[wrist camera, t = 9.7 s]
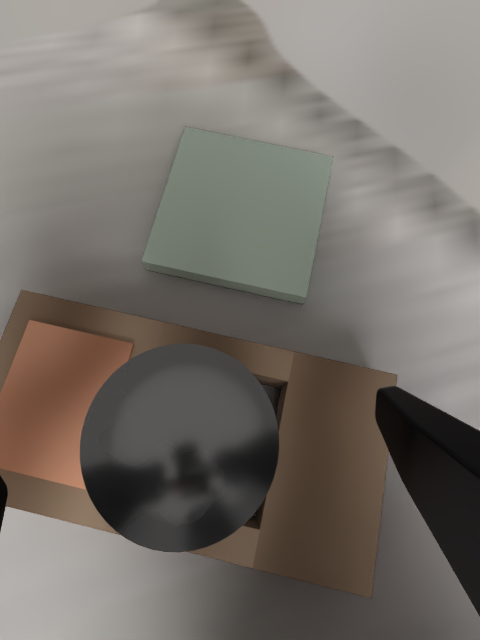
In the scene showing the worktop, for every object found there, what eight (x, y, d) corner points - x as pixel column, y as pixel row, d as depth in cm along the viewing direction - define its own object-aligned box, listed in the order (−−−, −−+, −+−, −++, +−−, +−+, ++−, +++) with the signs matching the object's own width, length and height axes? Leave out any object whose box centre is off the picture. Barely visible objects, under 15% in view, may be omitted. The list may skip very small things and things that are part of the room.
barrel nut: (262, 402, 18) (295, 366, 8) (243, 494, 17) (256, 575, 7) (177, 382, 18) (115, 325, 9) (152, 472, 17) (50, 523, 7)
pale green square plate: (328, 169, 22) (333, 156, 21) (302, 304, 19) (306, 297, 18) (187, 139, 22) (185, 126, 21) (145, 269, 20) (141, 261, 19)
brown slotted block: (375, 382, 18) (399, 374, 16) (350, 573, 16) (373, 600, 14) (48, 307, 19) (18, 288, 16) (-19, 481, 17) (-65, 489, 14)
